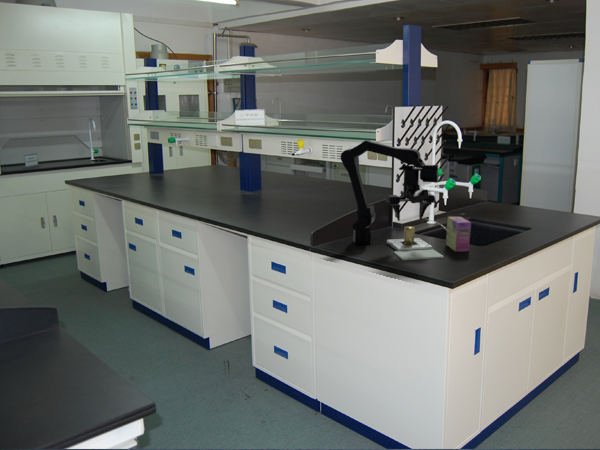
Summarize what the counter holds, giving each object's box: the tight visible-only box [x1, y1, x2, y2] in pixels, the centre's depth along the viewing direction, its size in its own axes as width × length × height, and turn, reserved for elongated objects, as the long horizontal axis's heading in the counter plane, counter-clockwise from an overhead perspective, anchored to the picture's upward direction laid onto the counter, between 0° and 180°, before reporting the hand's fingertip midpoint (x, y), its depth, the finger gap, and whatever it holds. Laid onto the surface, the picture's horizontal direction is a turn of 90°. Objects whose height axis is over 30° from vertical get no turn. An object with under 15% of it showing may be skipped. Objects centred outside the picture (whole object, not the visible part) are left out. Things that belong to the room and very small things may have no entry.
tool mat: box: [393, 248, 444, 261], centre depth 198 cm, size 16×10×1 cm, turn 99°
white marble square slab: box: [386, 237, 433, 251], centre depth 210 cm, size 14×14×2 cm
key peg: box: [403, 225, 416, 245], centre depth 209 cm, size 4×4×8 cm
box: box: [445, 216, 472, 253], centre depth 206 cm, size 10×6×12 cm, turn 5°
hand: (409, 220), depth 208 cm, fingers open, 9 cm apart
